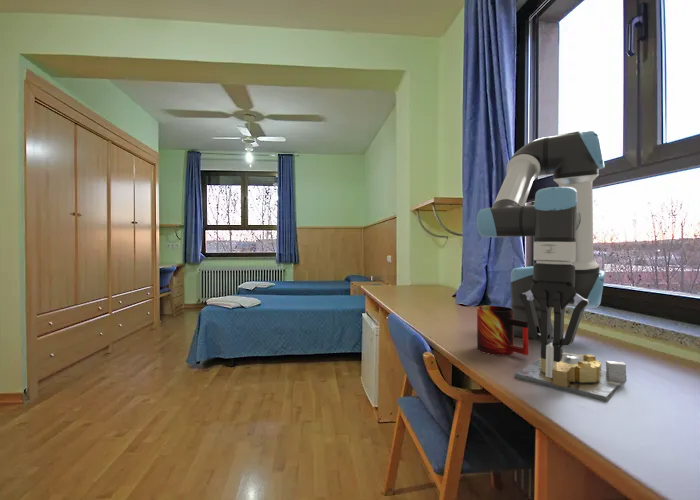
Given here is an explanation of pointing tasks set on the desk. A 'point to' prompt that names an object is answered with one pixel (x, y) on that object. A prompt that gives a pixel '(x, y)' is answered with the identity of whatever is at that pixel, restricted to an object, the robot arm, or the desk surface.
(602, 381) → the grey base plate
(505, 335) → the mug
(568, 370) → the octagonal block ring
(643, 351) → the desk surface
